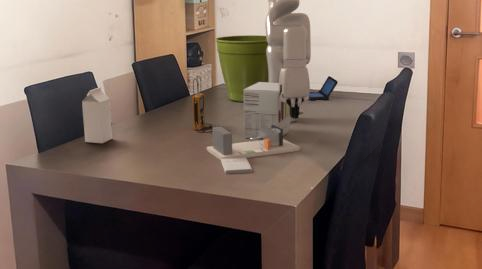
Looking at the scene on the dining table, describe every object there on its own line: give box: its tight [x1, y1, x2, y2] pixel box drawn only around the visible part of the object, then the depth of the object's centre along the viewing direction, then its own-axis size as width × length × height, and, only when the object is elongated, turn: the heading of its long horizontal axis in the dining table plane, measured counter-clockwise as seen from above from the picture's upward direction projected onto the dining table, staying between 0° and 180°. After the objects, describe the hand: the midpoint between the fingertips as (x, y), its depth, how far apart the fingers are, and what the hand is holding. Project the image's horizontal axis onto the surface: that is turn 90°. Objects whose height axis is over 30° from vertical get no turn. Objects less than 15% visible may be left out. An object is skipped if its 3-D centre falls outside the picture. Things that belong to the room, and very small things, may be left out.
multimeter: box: [191, 76, 214, 134], centre depth 242 cm, size 15×10×20 cm
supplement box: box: [243, 82, 291, 139], centre depth 232 cm, size 17×13×18 cm
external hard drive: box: [220, 158, 253, 174], centre depth 196 cm, size 2×8×12 cm
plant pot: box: [215, 34, 269, 103], centre depth 297 cm, size 30×30×29 cm
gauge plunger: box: [248, 125, 284, 148], centre depth 213 cm, size 10×10×6 cm
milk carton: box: [81, 86, 113, 144], centre depth 226 cm, size 7×7×19 cm
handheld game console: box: [307, 76, 339, 102], centre depth 300 cm, size 16×13×9 cm
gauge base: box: [206, 126, 301, 161], centre depth 212 cm, size 28×14×8 cm, turn 113°
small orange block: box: [264, 138, 271, 149], centre depth 209 cm, size 1×3×3 cm, turn 22°
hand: (294, 117), depth 216 cm, fingers closed
